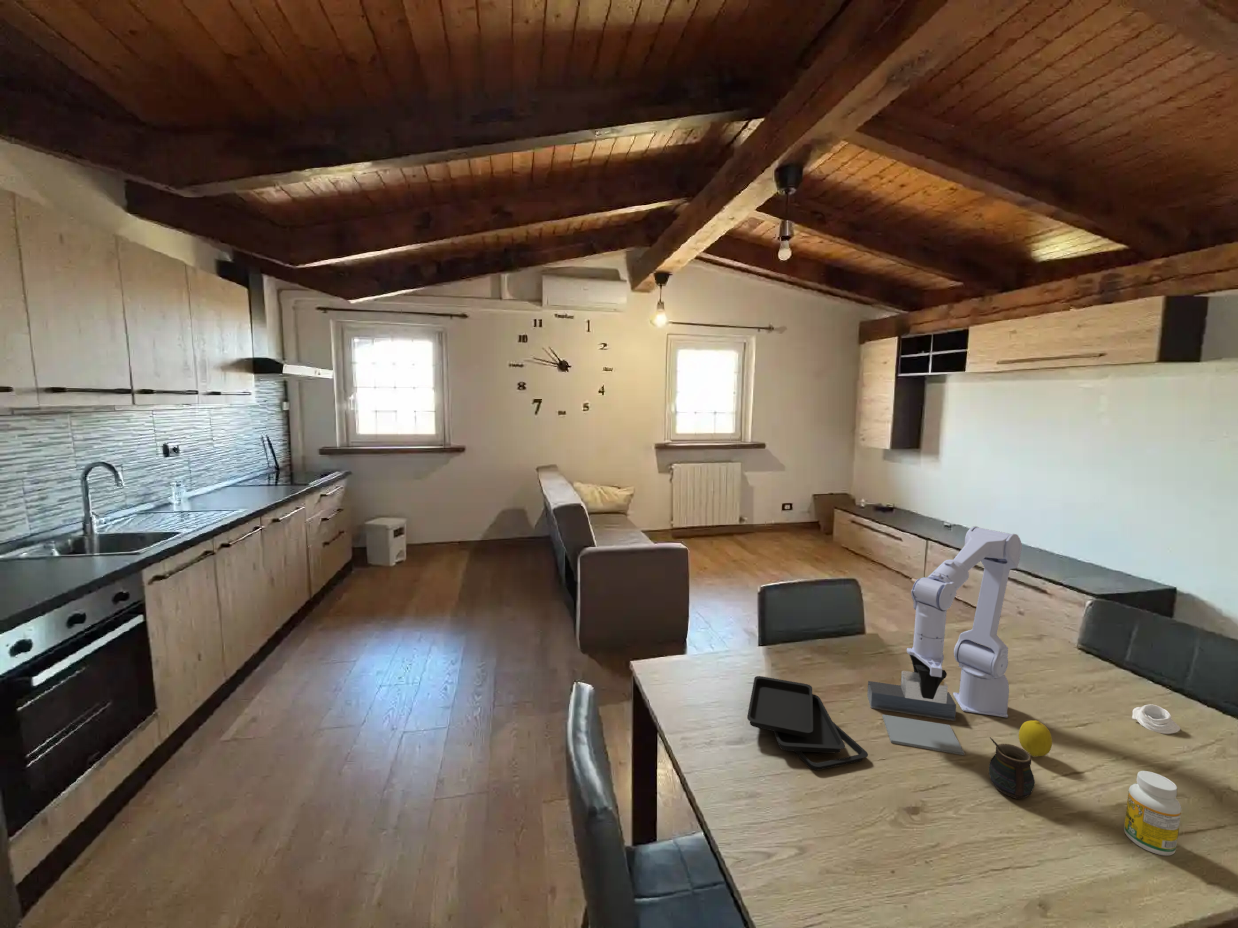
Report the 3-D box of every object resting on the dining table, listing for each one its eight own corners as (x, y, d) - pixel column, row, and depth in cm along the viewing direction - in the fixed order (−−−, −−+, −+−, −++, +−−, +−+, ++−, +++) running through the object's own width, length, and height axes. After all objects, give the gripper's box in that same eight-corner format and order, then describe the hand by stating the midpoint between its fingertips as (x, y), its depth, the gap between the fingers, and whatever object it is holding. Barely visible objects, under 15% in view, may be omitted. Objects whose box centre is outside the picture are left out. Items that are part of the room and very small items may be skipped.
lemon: (1043, 750, 114) (1047, 716, 113) (1054, 767, 109) (1058, 731, 108) (1012, 745, 116) (1016, 710, 115) (1022, 761, 111) (1026, 725, 110)
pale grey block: (940, 692, 119) (941, 673, 119) (946, 703, 115) (948, 683, 114) (900, 686, 122) (902, 667, 121) (905, 697, 117) (906, 677, 117)
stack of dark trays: (885, 756, 112) (887, 733, 112) (802, 790, 102) (803, 765, 102) (784, 687, 139) (785, 668, 139) (710, 708, 129) (711, 688, 128)
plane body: (947, 707, 130) (948, 692, 129) (954, 720, 125) (956, 704, 124) (867, 695, 135) (868, 680, 134) (870, 707, 130) (872, 692, 129)
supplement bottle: (1177, 863, 86) (1187, 800, 85) (1124, 842, 90) (1132, 781, 89) (1172, 839, 91) (1181, 778, 90) (1121, 820, 95) (1129, 762, 94)
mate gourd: (1041, 806, 98) (1047, 757, 97) (996, 800, 100) (1001, 751, 99) (1021, 780, 105) (1026, 733, 104) (978, 774, 107) (983, 728, 106)
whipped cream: (1177, 730, 123) (1182, 710, 123) (1180, 741, 118) (1185, 721, 118) (1130, 714, 129) (1134, 695, 128) (1131, 724, 124) (1135, 704, 123)
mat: (949, 727, 122) (949, 724, 122) (963, 755, 113) (964, 752, 112) (882, 716, 126) (882, 714, 126) (890, 742, 116) (891, 740, 116)
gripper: (901, 617, 124) (897, 672, 126) (917, 645, 111) (912, 706, 112) (935, 621, 122) (930, 677, 124) (955, 649, 109) (950, 712, 110)
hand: (924, 691), depth 118 cm, fingers closed on pale grey block, 5 cm apart
